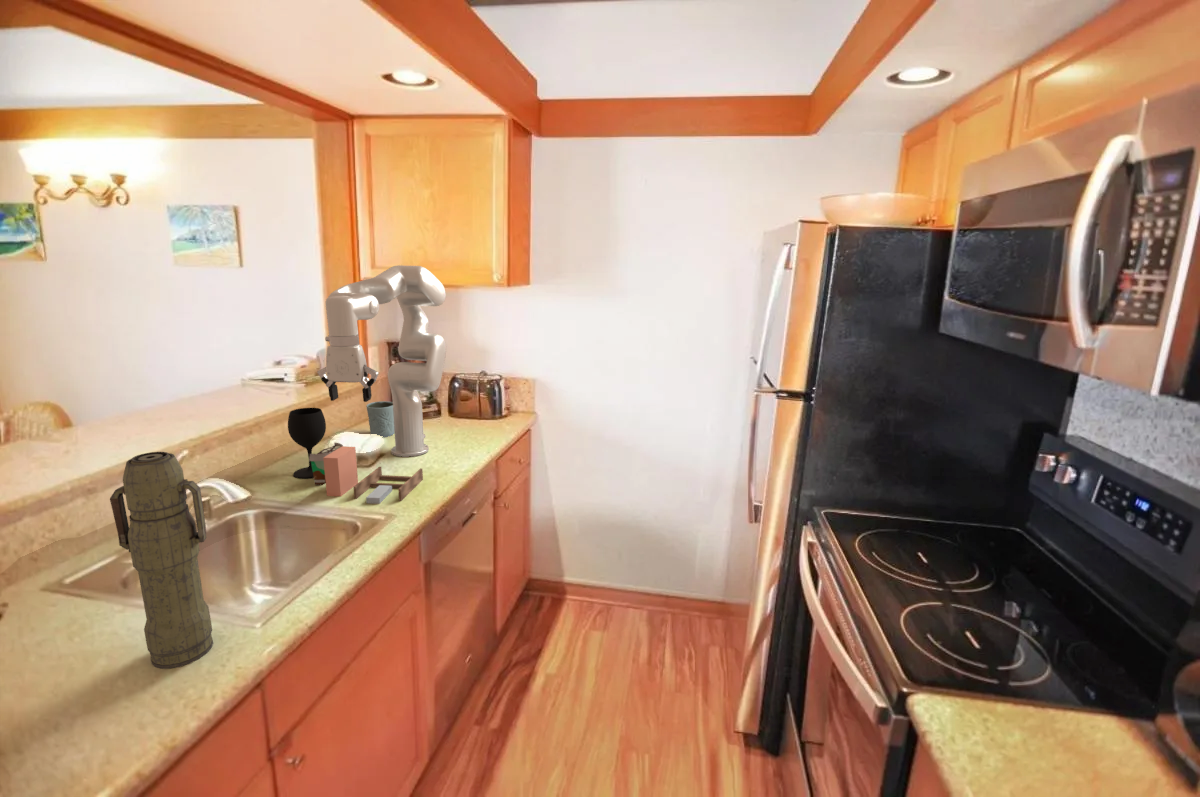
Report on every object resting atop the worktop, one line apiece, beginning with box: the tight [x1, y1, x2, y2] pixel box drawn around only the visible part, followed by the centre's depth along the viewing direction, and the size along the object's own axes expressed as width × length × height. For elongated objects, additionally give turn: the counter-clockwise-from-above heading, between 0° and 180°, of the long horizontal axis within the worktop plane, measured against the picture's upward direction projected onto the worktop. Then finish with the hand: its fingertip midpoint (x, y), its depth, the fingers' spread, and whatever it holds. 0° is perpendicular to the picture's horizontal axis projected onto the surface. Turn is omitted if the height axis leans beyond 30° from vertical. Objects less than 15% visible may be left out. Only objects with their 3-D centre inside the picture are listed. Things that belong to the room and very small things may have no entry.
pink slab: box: [323, 445, 359, 497], centre depth 163 cm, size 4×10×12 cm, turn 176°
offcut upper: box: [365, 485, 393, 505], centre depth 159 cm, size 4×9×2 cm, turn 179°
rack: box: [353, 466, 424, 502], centre depth 165 cm, size 16×13×5 cm
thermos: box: [109, 451, 214, 670], centre depth 94 cm, size 9×12×35 cm
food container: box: [308, 442, 344, 486], centre depth 173 cm, size 12×6×10 cm, turn 168°
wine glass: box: [287, 407, 327, 480], centre depth 178 cm, size 10×10×20 cm
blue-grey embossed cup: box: [366, 400, 395, 438], centre depth 219 cm, size 10×10×12 cm
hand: (350, 400), depth 165 cm, fingers open, 9 cm apart
